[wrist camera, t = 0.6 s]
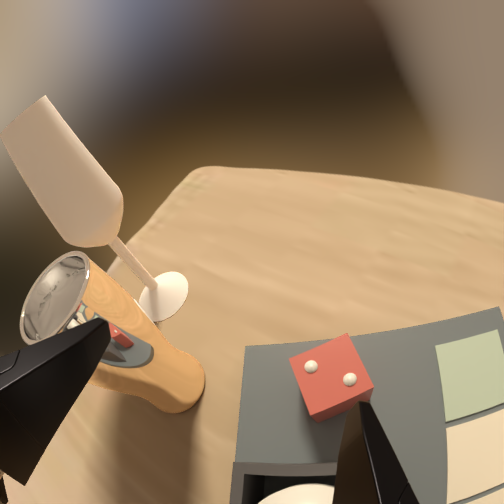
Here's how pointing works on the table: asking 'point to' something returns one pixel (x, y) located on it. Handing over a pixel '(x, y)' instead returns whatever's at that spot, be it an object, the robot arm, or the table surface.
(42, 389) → the robot arm
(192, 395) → the beer glass
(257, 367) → the game board
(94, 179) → the champagne flute
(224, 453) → the table surface
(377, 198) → the table surface
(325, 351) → the red die
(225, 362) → the table surface
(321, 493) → the dome button
